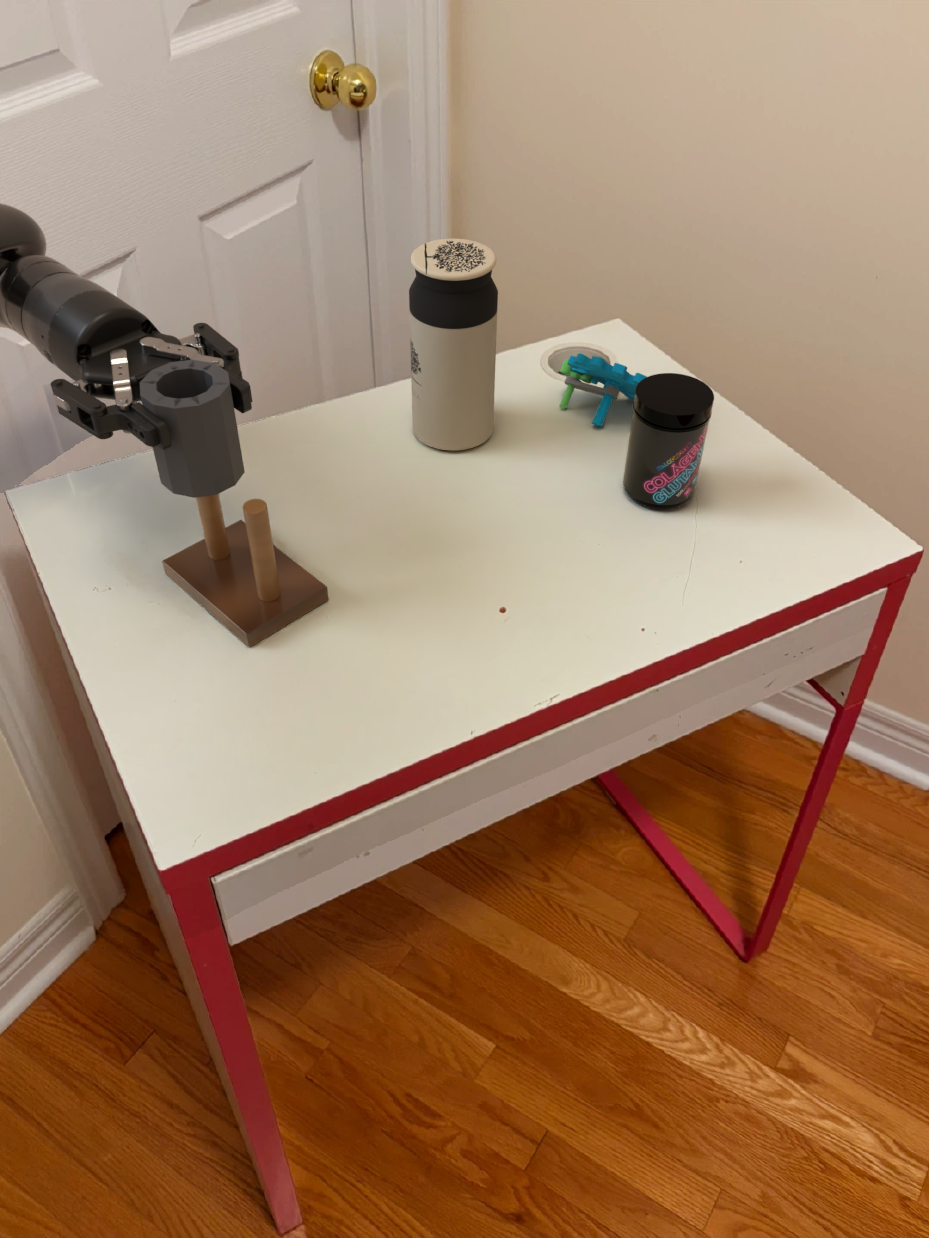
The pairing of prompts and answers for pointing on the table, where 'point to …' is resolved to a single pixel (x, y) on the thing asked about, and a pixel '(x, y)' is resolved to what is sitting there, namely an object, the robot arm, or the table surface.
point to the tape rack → (244, 573)
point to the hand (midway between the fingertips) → (207, 418)
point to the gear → (598, 372)
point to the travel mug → (453, 343)
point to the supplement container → (667, 440)
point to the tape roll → (195, 427)
